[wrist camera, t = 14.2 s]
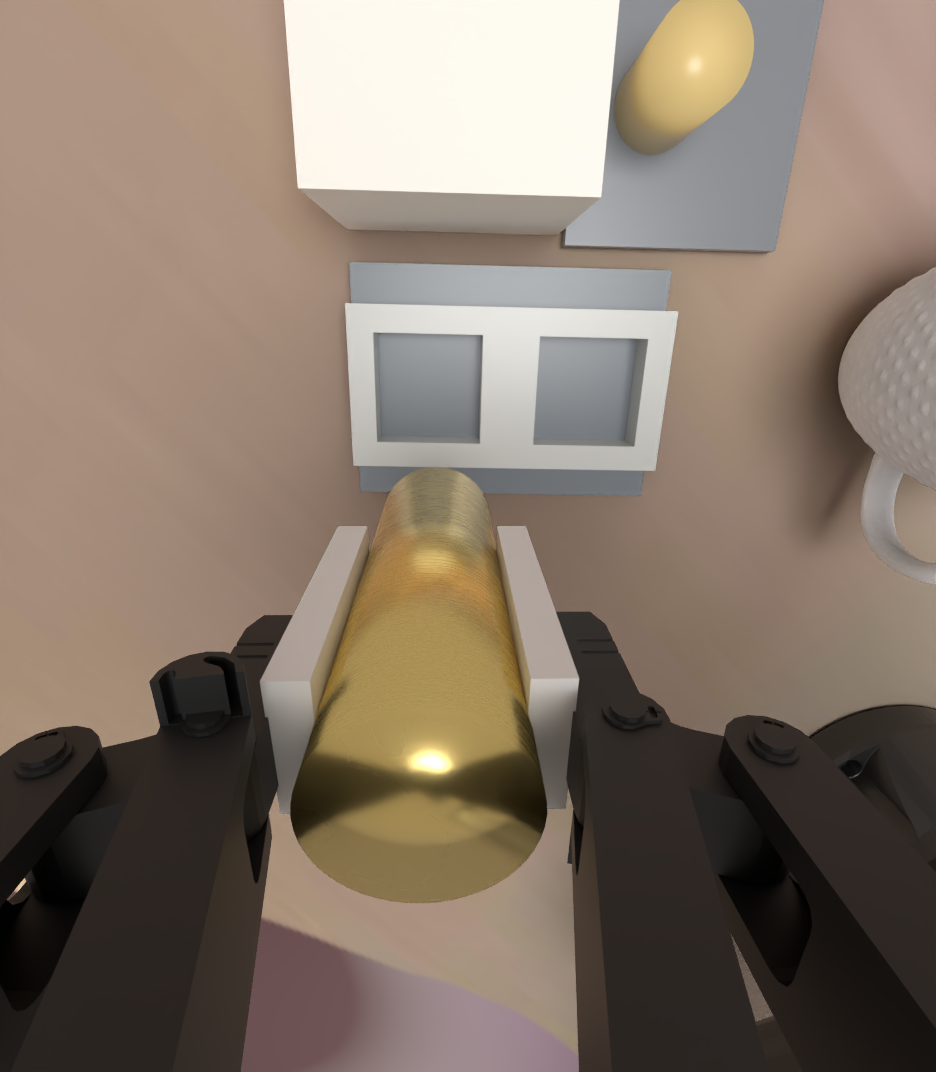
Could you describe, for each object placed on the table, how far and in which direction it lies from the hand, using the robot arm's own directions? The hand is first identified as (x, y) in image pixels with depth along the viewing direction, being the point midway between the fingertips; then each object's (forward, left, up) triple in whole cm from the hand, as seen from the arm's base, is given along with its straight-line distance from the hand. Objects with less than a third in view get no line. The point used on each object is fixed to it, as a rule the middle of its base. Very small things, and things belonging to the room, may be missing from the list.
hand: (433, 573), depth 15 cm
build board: (+3, -3, -16) cm, 17 cm away
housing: (+15, 0, -16) cm, 22 cm away
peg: (0, 0, -4) cm, 4 cm away
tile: (+15, -11, -16) cm, 25 cm away
